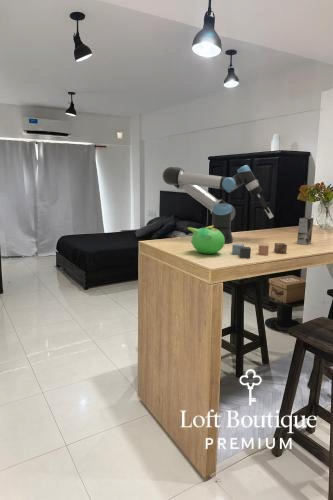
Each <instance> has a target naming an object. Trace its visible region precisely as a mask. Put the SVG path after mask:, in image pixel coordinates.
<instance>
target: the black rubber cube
mask: <svg viewBox="0 0 333 500" xmlns="http://www.w3.org/2000/svg"><path fill="white" fill-rule="evenodd" d="M251 252H252V250H251V246H244V247H240V255H239V259H251Z"/></svg>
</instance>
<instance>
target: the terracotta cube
mask: <svg viewBox="0 0 333 500" xmlns="http://www.w3.org/2000/svg"><path fill="white" fill-rule="evenodd" d="M269 247H270V246H269V244H267V243H266V244H264V243H263V244H262V243H258V252H257V254H258V255H259V256H268V255H269V249H270V248H269Z"/></svg>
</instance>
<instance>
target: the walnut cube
mask: <svg viewBox="0 0 333 500" xmlns="http://www.w3.org/2000/svg"><path fill="white" fill-rule="evenodd" d="M287 248H288V244H286V243H285V242H275V243H274V248H273V252H274V253H276V254H277V255H278V254H281V255H282V254H284V255H286V254H287V250H288V249H287Z"/></svg>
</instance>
